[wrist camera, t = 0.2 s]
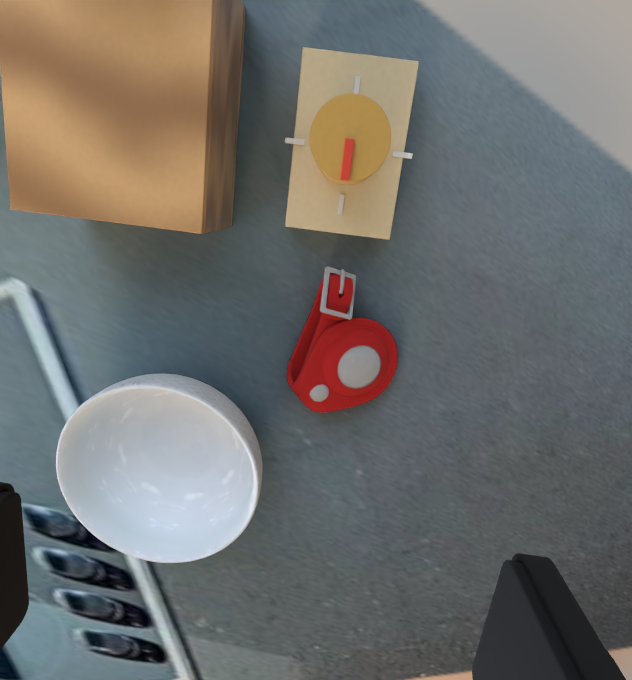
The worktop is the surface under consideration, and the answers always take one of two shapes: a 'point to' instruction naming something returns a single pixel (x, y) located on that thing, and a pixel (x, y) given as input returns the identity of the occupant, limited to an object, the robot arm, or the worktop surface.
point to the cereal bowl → (161, 468)
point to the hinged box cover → (109, 108)
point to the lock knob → (350, 138)
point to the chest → (225, 112)
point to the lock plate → (382, 186)
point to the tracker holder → (340, 351)
